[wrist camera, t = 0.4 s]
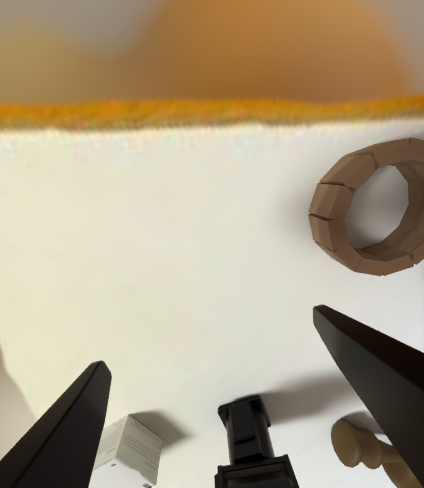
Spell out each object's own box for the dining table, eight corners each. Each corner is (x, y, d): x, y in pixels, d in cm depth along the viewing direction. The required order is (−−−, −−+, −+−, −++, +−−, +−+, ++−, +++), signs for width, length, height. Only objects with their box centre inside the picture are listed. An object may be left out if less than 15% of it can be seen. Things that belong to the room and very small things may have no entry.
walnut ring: (424, 240, 23) (460, 251, 20) (320, 274, 24) (339, 290, 21) (422, 127, 20) (466, 117, 16) (299, 171, 20) (318, 170, 17)
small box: (90, 435, 31) (69, 483, 26) (129, 412, 30) (115, 458, 25) (126, 460, 33) (113, 508, 28) (164, 439, 32) (157, 486, 27)
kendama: (346, 398, 32) (450, 426, 34) (314, 436, 35) (412, 459, 37) (375, 447, 26) (497, 476, 29) (335, 487, 29) (449, 511, 32)
